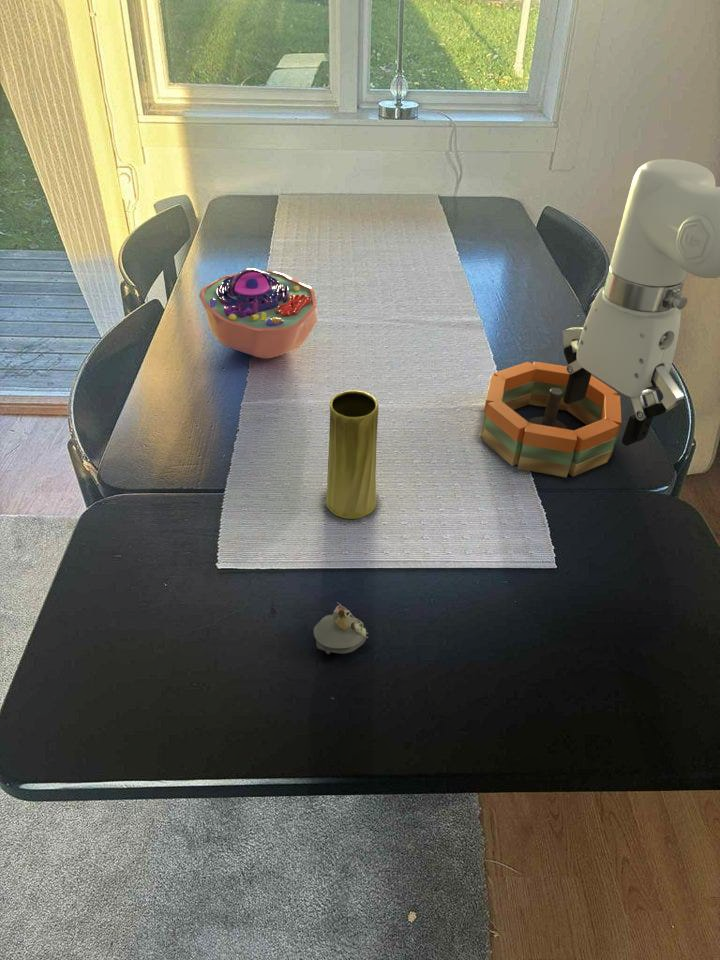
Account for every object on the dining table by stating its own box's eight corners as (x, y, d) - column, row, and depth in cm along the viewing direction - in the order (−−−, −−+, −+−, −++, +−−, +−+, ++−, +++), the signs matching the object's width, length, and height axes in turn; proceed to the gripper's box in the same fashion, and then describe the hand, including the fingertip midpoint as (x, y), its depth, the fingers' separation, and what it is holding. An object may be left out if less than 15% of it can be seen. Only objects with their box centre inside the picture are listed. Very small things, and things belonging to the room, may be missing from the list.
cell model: (228, 389, 101) (220, 318, 93) (194, 326, 114) (185, 259, 107) (337, 366, 106) (337, 298, 99) (292, 308, 120) (289, 244, 112)
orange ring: (644, 425, 90) (649, 413, 89) (545, 466, 84) (549, 453, 82) (554, 364, 101) (557, 352, 100) (460, 395, 94) (462, 382, 93)
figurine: (311, 660, 67) (310, 621, 63) (316, 622, 70) (315, 583, 66) (366, 663, 67) (369, 625, 63) (368, 626, 70) (371, 587, 66)
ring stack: (636, 449, 93) (652, 406, 88) (540, 491, 86) (552, 446, 82) (549, 387, 104) (559, 345, 99) (457, 419, 97) (464, 376, 92)
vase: (315, 505, 83) (313, 407, 74) (345, 478, 87) (347, 381, 77) (357, 527, 80) (361, 428, 71) (386, 498, 84) (393, 400, 75)
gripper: (734, 314, 70) (680, 449, 81) (606, 252, 81) (574, 379, 92) (684, 331, 67) (634, 469, 78) (558, 265, 78) (531, 394, 89)
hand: (602, 420), depth 85 cm, fingers open, 9 cm apart
